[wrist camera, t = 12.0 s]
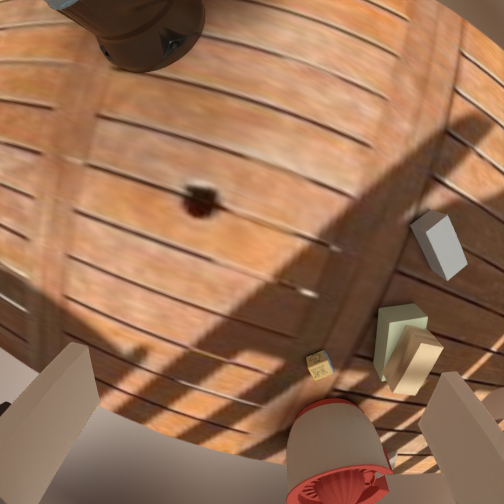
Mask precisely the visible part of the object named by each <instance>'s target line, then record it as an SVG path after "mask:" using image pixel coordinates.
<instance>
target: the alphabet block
mask: <svg viewBox="0 0 504 504" xmlns="http://www.w3.org/2000/svg"><path fill="white" fill-rule="evenodd" d="M306 361H307V366H308V369H309V371H310V373H311V375H312V376H313V378H314V380H315V381H317V380H319V379H322V378H324V377H327V376H329V375H331V374H334V370H333V367H332V364H331V361H330V359H329V357H328V355H327V353H326V351H325V350H322V351H320V352H317V353H315V354H313V355H310V356H308V357H306Z"/></svg>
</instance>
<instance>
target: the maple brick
mask: <svg viewBox="0 0 504 504" xmlns="http://www.w3.org/2000/svg"><path fill="white" fill-rule="evenodd" d="M442 349H443V346H442V345H441V344H440V343H439V342H438V341H437V339H436V338H435V337H434V336H433V335H432V334H431V333H430V332H429V330H426V329H422V328H418V327H414V326H409V325H406V327H405V329H404V331H403V333H402V335H401V337H400V339H399V341H398V343H397V345H396V347H395V349H394V351H393V353H392V355H391V357H390V359H389V360H388V362H387V364H386V366H385V368H384V369H383V371H382V373H383V375H384V377H385V379H386V381H387V383H388V385H389V387H390V389H391V391H392V393H397V394H406V395H416V393H417V392H418V390H419V389H420V387H421V385H422V384H423V382H424V381H425V379H426V377H427V376H428V374H429V372H430V371H431V369H432V367H433V365H434V364H435V362H436V360H437V358H438V357H439V355H440V353H441V351H442Z"/></svg>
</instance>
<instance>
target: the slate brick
mask: <svg viewBox="0 0 504 504" xmlns="http://www.w3.org/2000/svg"><path fill="white" fill-rule="evenodd" d="M410 227H411V229H412V231H413V233H414V235H415V237H416V239H417V241H418V243H419V245H420V247H421V249H422V251H423V253H424V255H425V257H426V259H427V261H428V264H429V266H430V268H431V270H432V271H434V272H435V273H437V274H438V275H440V276H441V277H443V278H444V279H445V280H447V281H448V280H449V279H450V278H451V277H453V276H454V275H455V274H456V273H457V272H459V271H460V270H461V269H462V268H463V267H465V266H466V265H467V261H466V258H465V256H464V253H463V250H462V248H461V245H460V243H459V240H458V238H457V236H456V233H455V231H454V228H453V226H452V224H451V222H450V219H449V217H448V215H446V214H442V213H439V212H436V211H432V210H429V211H428V212H427V213H425V214H424V215H423V216H422V217H420V218H419V219H418V220H416V221H415V222H414V223H412V224H411V225H410Z"/></svg>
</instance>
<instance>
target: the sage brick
mask: <svg viewBox="0 0 504 504" xmlns="http://www.w3.org/2000/svg"><path fill="white" fill-rule="evenodd" d="M427 318H428V316H427V315H426V314H425V313H424V312H423V311H422V310H421V309H420V308H419V307H418V306H417V305H416V304H415V303H413V304H406V305H398V306H391V307H383V308H379V312H378V324H377V334H376V344H375V353H374V361H373V365H374V367H375V369H376V371H377V373H378V375H379V377H380V379H381V381H386V379H385V377H384V375H383V373H382V371H383V369H384V368H385V366H386V364H387V362H388V360H389V359H390V357H391V355H392V353H393V351H394V349H395V347H396V345H397V343H398V341H399V339H400V337H401V335H402V333H403V331H404V329H405V327H406V325H409V326H414V327H418V328H422V329H426V325H427Z"/></svg>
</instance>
